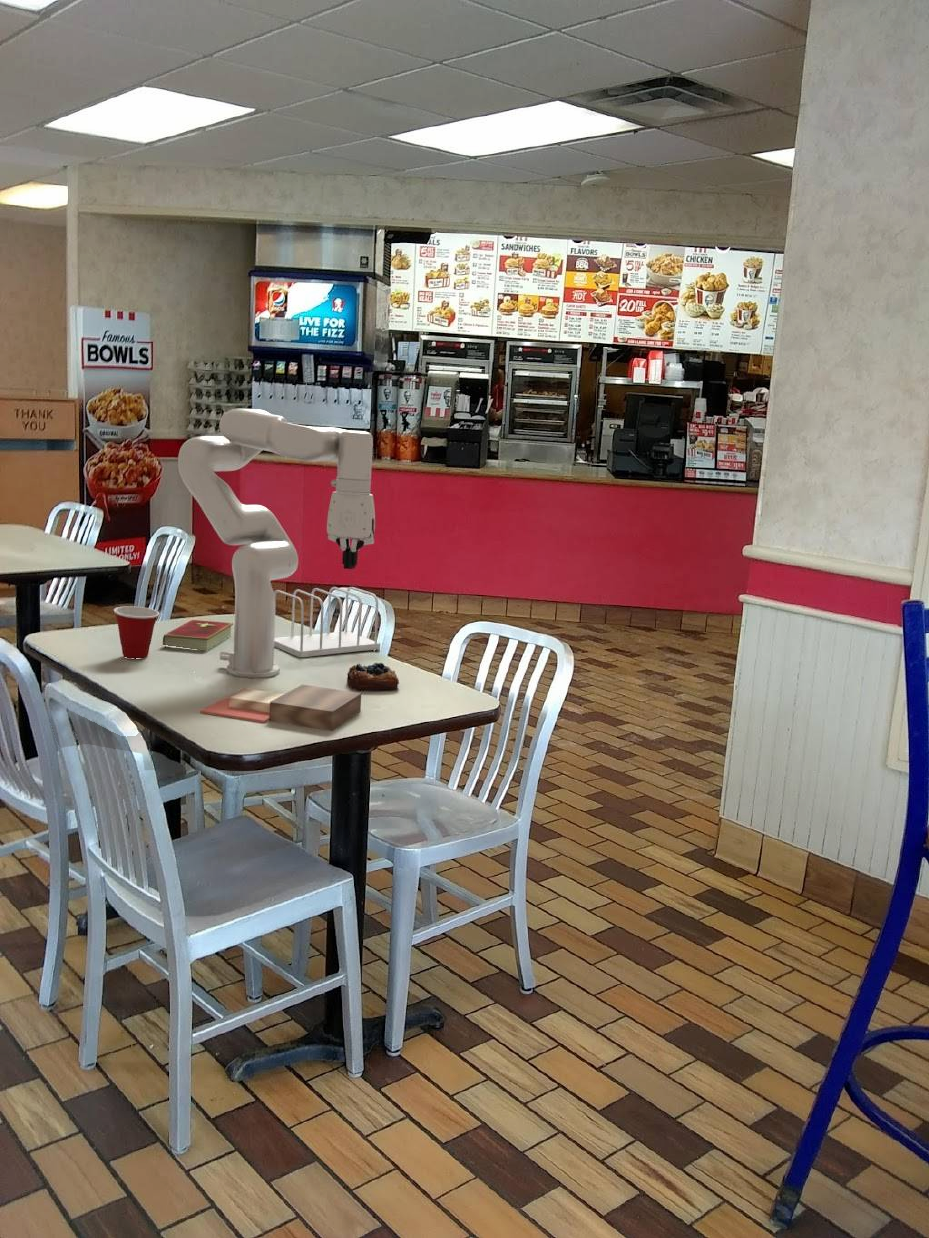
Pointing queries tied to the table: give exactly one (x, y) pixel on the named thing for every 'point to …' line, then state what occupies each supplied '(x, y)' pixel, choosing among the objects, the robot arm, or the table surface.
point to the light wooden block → (253, 700)
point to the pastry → (372, 678)
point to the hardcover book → (198, 634)
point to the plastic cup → (135, 629)
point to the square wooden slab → (315, 707)
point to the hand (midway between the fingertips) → (349, 568)
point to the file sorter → (328, 641)
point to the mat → (235, 711)
